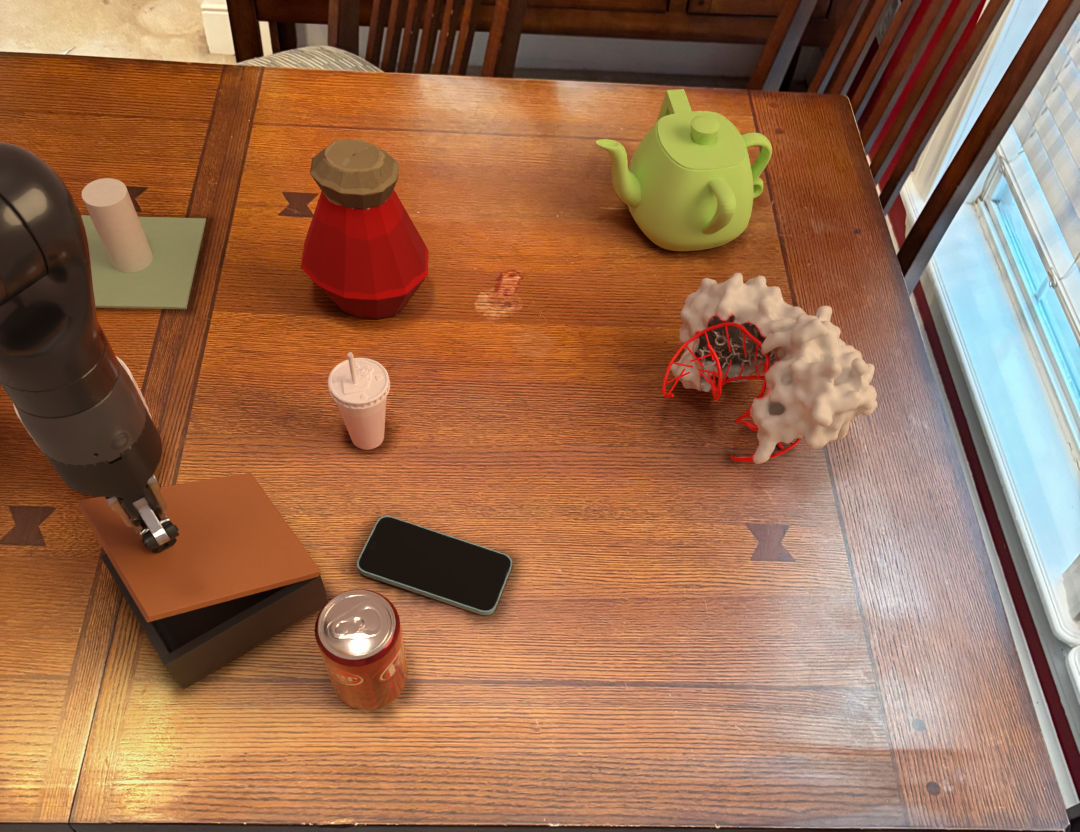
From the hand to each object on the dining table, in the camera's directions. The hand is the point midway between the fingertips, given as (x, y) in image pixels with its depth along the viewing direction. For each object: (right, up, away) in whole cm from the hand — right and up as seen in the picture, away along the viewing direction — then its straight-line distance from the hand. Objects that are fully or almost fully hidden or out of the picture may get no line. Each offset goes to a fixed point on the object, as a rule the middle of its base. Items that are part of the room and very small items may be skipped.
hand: (162, 542), depth 78 cm
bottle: (+12, +31, +34) cm, 48 cm away
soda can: (+17, -13, +9) cm, 23 cm away
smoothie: (+13, +12, +23) cm, 29 cm away
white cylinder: (-18, +36, +34) cm, 53 cm away
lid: (+2, 0, +4) cm, 4 cm away
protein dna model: (+57, +14, +28) cm, 65 cm away
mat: (-18, +35, +34) cm, 53 cm away
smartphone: (+22, -3, +15) cm, 27 cm away
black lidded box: (+1, -5, +12) cm, 13 cm away
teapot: (+51, +45, +45) cm, 81 cm away
